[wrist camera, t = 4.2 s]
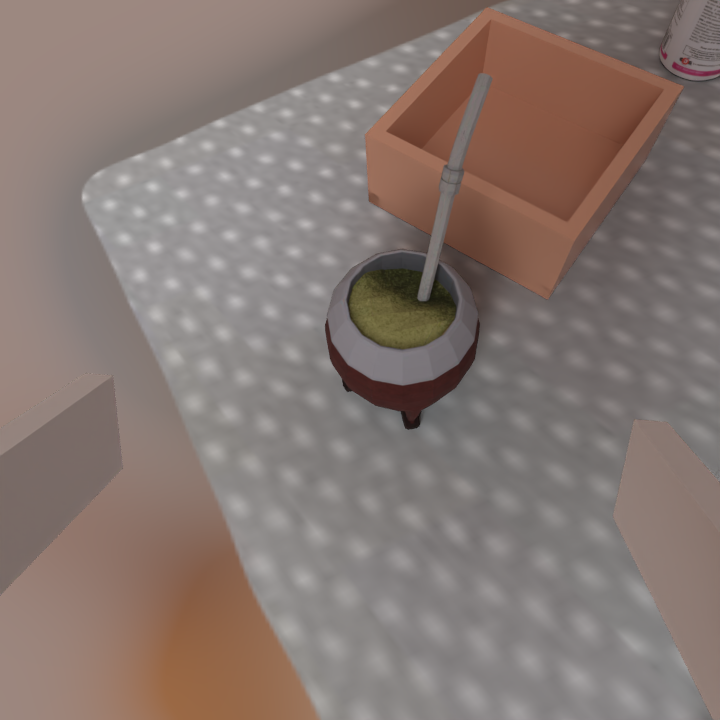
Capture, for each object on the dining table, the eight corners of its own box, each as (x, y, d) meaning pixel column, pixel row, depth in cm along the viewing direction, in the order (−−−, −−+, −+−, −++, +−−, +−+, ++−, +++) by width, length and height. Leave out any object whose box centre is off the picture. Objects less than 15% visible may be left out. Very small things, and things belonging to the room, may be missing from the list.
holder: (475, 83, 41) (486, 7, 36) (646, 159, 38) (684, 86, 33) (368, 201, 37) (365, 134, 33) (548, 299, 34) (574, 240, 29)
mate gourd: (347, 448, 31) (311, 296, 17) (325, 317, 34) (279, 104, 21) (488, 422, 31) (563, 251, 17) (452, 294, 34) (490, 69, 21)
